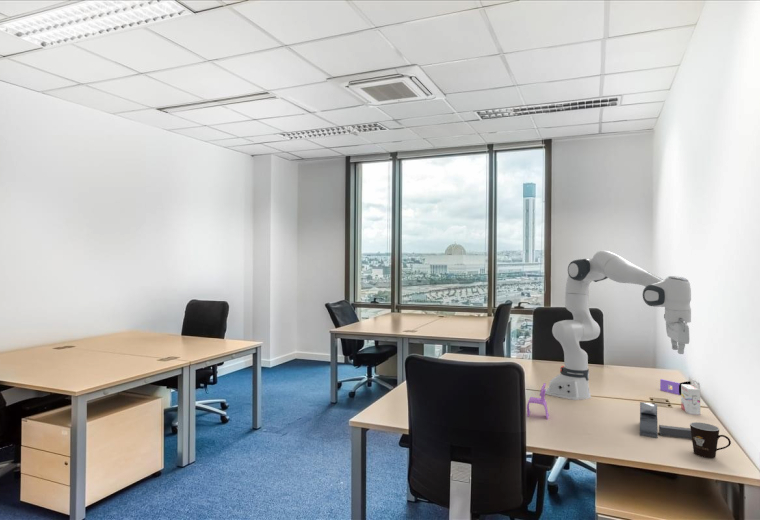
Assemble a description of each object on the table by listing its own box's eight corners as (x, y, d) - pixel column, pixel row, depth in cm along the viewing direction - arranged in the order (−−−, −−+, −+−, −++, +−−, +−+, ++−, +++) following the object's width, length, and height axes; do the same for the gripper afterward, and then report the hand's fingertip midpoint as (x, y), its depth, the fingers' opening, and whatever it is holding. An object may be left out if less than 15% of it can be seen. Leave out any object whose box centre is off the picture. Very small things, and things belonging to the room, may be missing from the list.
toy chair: (529, 412, 210) (529, 379, 210) (549, 415, 206) (549, 381, 206) (526, 417, 202) (526, 383, 202) (547, 420, 198) (547, 386, 198)
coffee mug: (684, 449, 168) (684, 422, 168) (706, 449, 169) (706, 422, 169) (709, 463, 156) (709, 434, 156) (733, 462, 157) (733, 433, 157)
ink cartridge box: (680, 408, 216) (680, 377, 216) (692, 409, 215) (692, 378, 215) (688, 414, 208) (688, 382, 208) (701, 415, 207) (701, 382, 207)
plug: (661, 436, 181) (661, 425, 182) (658, 432, 186) (658, 421, 186) (709, 441, 176) (709, 430, 176) (705, 437, 180) (705, 426, 180)
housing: (639, 435, 182) (640, 407, 182) (640, 422, 197) (640, 397, 197) (657, 438, 179) (657, 410, 179) (656, 425, 194) (656, 399, 194)
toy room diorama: (681, 397, 236) (681, 384, 236) (657, 391, 246) (657, 378, 246) (694, 394, 241) (694, 381, 241) (670, 388, 252) (670, 376, 252)
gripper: (694, 320, 172) (694, 357, 172) (680, 314, 192) (680, 348, 191) (674, 319, 175) (674, 355, 175) (663, 314, 194) (663, 346, 194)
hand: (677, 351), depth 183 cm, fingers open, 8 cm apart
